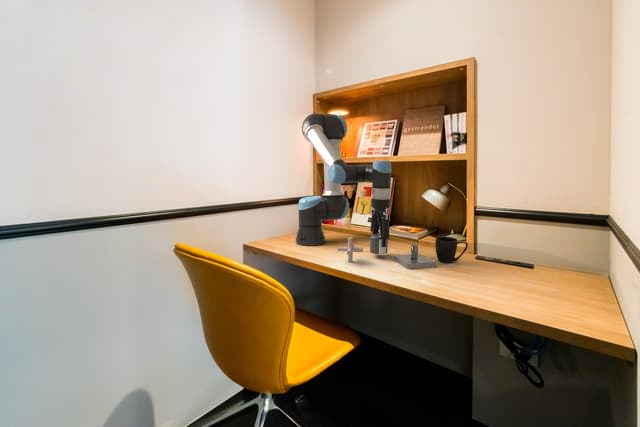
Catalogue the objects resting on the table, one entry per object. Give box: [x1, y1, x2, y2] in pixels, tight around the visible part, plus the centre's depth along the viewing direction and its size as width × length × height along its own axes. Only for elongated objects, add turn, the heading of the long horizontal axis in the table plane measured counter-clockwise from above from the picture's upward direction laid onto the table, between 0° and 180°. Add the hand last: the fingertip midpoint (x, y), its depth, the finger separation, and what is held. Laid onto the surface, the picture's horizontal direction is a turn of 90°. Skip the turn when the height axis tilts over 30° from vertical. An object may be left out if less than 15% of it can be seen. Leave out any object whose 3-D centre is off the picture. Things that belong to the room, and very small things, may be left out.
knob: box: [369, 233, 389, 255], centre depth 135 cm, size 7×7×7 cm
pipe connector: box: [337, 236, 364, 263], centre depth 129 cm, size 10×10×10 cm
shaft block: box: [392, 243, 437, 270], centre depth 126 cm, size 12×12×8 cm
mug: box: [434, 236, 469, 265], centre depth 127 cm, size 8×12×10 cm
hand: (378, 251), depth 135 cm, fingers closed on knob, 7 cm apart
